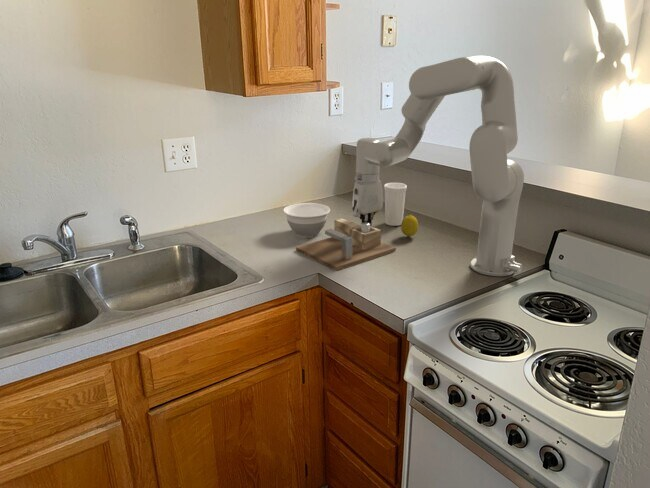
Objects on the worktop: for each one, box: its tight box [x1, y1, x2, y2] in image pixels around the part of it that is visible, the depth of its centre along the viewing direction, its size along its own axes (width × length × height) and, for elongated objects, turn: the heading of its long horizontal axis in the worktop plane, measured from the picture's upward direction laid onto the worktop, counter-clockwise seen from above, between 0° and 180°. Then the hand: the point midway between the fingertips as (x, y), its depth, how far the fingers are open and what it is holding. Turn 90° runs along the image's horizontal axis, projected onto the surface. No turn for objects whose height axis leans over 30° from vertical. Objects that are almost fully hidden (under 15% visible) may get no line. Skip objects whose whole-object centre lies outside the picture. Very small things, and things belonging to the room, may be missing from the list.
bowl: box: [282, 202, 331, 239], centre depth 183 cm, size 16×16×8 cm
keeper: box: [324, 228, 353, 260], centre depth 161 cm, size 10×2×7 cm, turn 38°
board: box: [295, 236, 397, 272], centre depth 168 cm, size 20×24×1 cm
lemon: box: [400, 214, 419, 238], centre depth 178 cm, size 6×6×8 cm
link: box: [333, 217, 382, 250], centre depth 173 cm, size 17×7×5 cm, turn 38°
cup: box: [383, 182, 408, 227], centre depth 190 cm, size 8×8×14 cm
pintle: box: [360, 222, 370, 233], centre depth 169 cm, size 3×3×7 cm
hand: (366, 230), depth 179 cm, fingers closed
